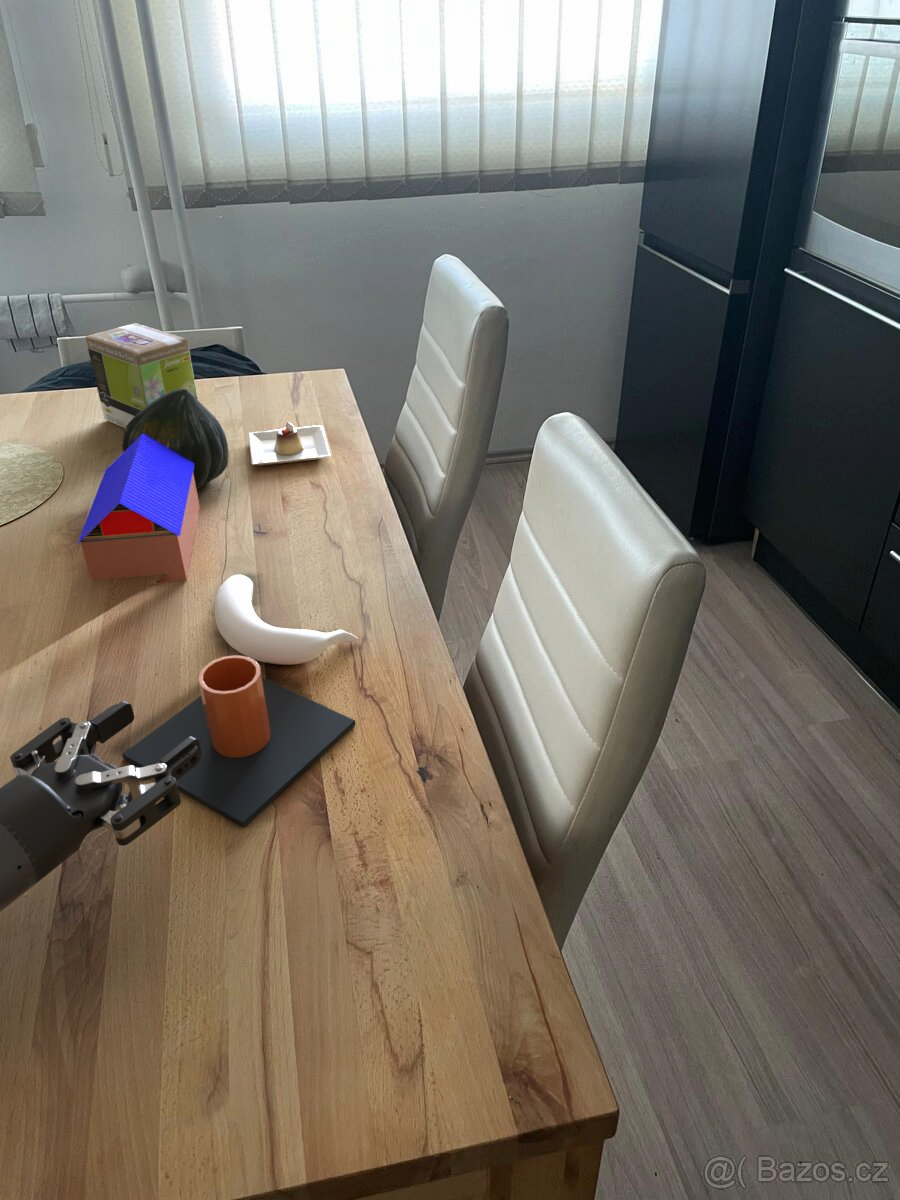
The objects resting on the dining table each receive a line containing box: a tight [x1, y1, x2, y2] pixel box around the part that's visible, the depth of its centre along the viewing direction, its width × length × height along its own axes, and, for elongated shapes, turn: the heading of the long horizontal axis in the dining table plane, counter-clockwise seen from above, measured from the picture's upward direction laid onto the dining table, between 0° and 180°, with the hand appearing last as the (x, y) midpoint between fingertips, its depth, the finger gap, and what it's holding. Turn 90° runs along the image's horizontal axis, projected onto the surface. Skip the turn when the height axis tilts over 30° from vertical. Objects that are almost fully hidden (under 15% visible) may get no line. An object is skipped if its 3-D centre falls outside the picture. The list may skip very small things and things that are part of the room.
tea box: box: [85, 322, 199, 429], centre depth 151 cm, size 15×10×15 cm
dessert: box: [247, 421, 331, 466], centre depth 144 cm, size 12×12×5 cm
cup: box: [197, 654, 271, 758], centre depth 88 cm, size 6×6×8 cm
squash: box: [121, 388, 230, 490], centre depth 133 cm, size 14×15×15 cm
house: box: [76, 433, 201, 585], centre depth 119 cm, size 12×20×12 cm, turn 8°
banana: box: [214, 574, 360, 666], centre depth 106 cm, size 5×19×15 cm
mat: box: [122, 677, 356, 828], centre depth 90 cm, size 16×16×1 cm
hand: (162, 726), depth 80 cm, fingers open, 8 cm apart
